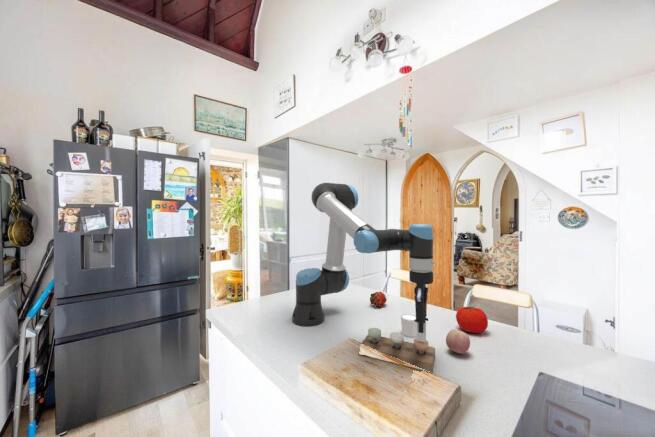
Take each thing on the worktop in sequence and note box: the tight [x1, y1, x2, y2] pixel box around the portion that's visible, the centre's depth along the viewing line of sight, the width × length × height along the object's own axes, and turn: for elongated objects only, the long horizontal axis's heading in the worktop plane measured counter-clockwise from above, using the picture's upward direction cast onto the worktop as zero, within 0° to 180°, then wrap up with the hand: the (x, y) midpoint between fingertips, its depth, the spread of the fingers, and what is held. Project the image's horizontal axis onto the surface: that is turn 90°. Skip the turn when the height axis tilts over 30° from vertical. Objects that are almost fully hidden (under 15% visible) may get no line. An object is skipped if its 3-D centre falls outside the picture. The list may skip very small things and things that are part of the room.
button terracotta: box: [413, 337, 429, 355], centre depth 88 cm, size 5×5×6 cm
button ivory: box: [389, 331, 405, 349], centre depth 91 cm, size 5×5×6 cm
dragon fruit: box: [369, 291, 388, 308], centre depth 142 cm, size 8×8×12 cm
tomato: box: [455, 305, 489, 334], centre depth 111 cm, size 12×12×10 cm
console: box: [361, 334, 436, 373], centre depth 91 cm, size 24×11×3 cm, turn 63°
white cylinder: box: [400, 313, 417, 338], centre depth 108 cm, size 7×7×7 cm
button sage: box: [367, 327, 382, 344], centre depth 95 cm, size 5×5×6 cm
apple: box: [445, 329, 471, 355], centre depth 93 cm, size 8×8×8 cm
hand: (421, 340), depth 87 cm, fingers closed
